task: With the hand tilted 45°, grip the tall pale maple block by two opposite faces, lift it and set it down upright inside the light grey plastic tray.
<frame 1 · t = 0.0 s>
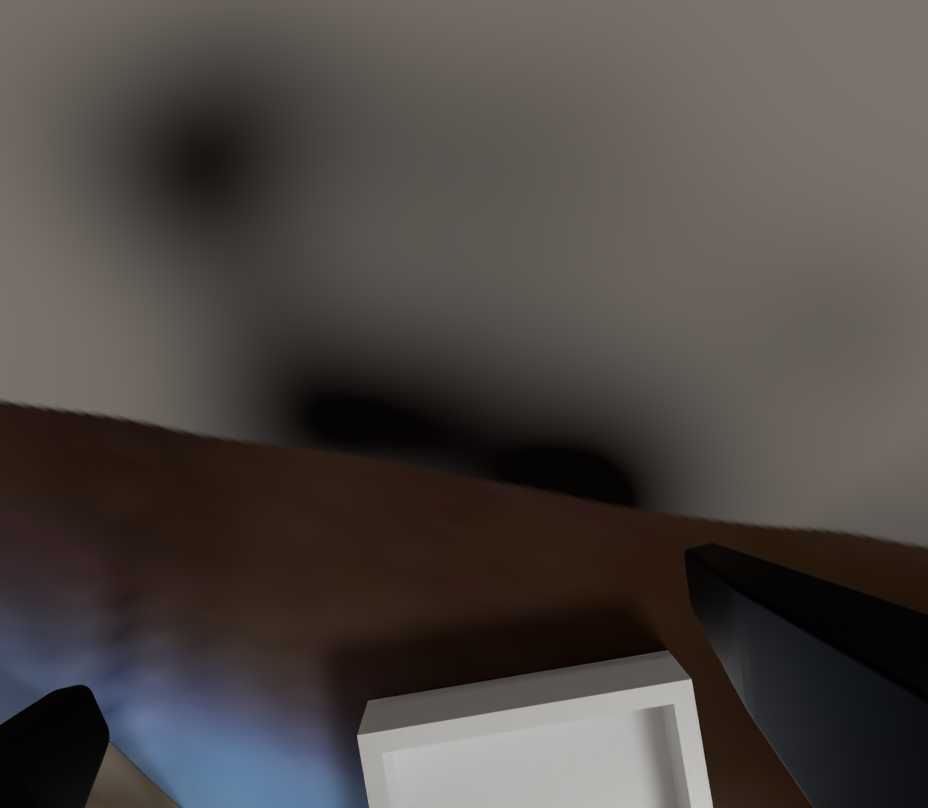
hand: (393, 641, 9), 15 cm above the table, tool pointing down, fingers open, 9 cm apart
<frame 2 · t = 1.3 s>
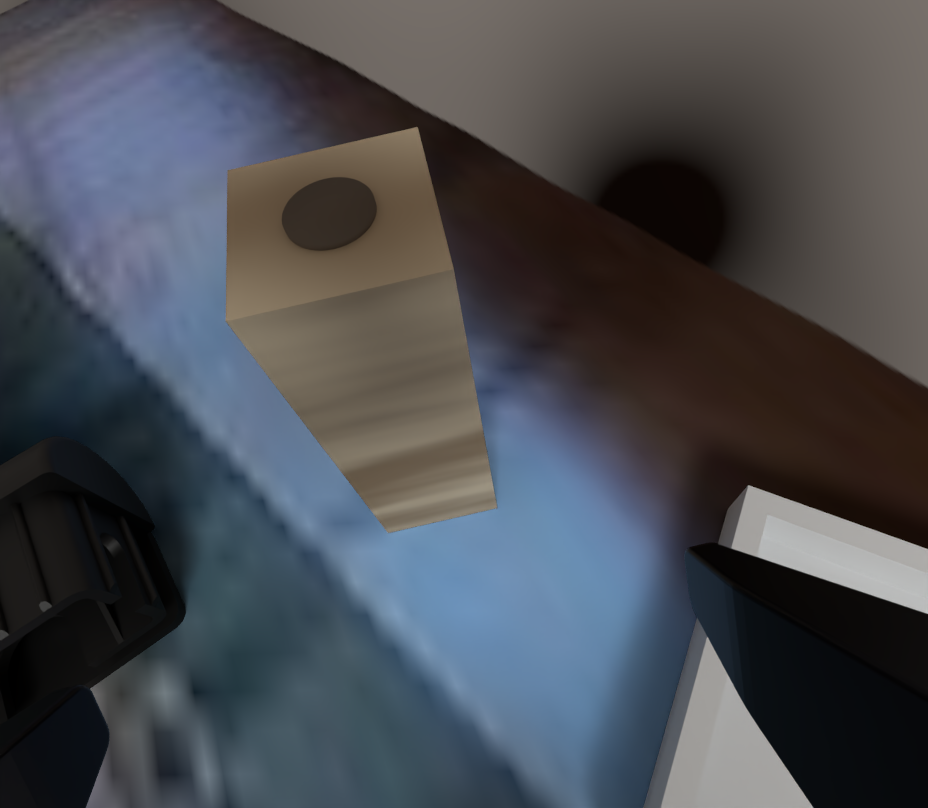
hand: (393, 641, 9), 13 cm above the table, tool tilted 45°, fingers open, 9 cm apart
tray: (887, 767, 18), on the table
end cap: (60, 616, 23), on the table
maple block: (433, 470, 24), on the table
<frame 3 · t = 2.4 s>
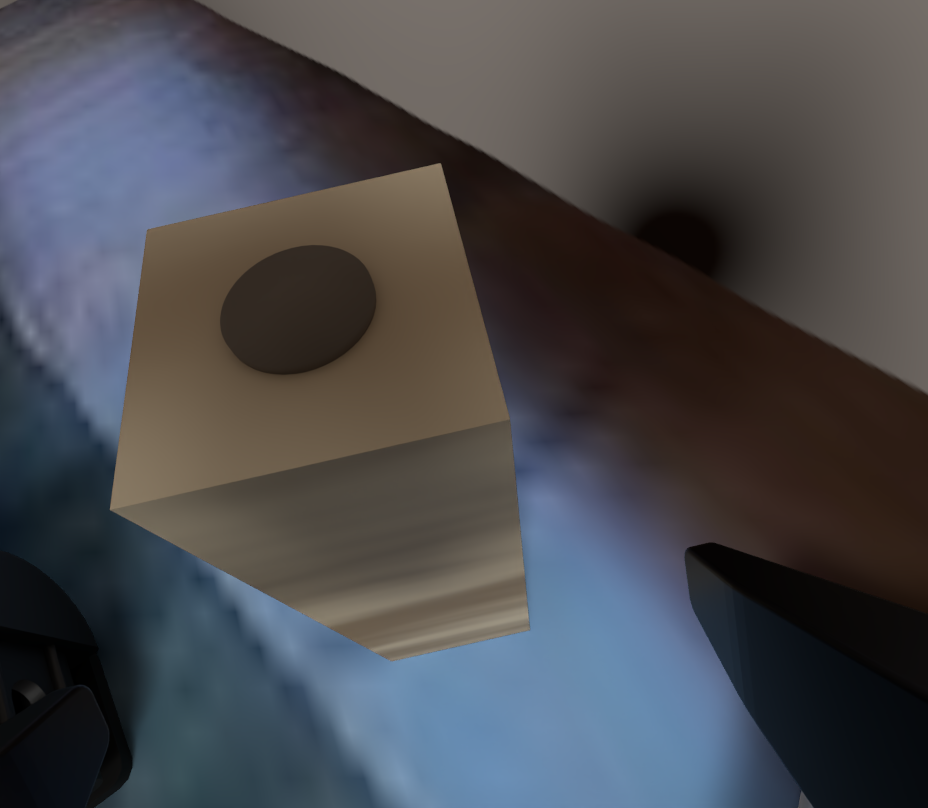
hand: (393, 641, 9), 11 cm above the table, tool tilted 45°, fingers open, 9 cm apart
maple block: (448, 575, 20), on the table
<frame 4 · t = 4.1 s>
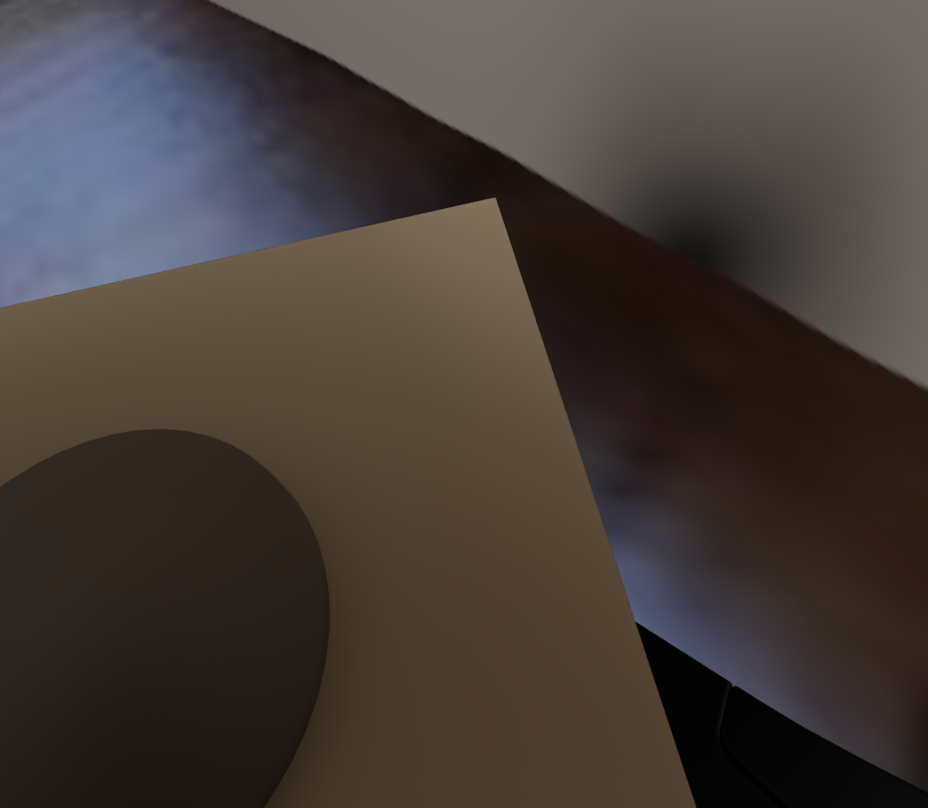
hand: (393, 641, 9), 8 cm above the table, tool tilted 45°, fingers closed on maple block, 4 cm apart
maple block: (461, 720, 15), on the table, touching gripper
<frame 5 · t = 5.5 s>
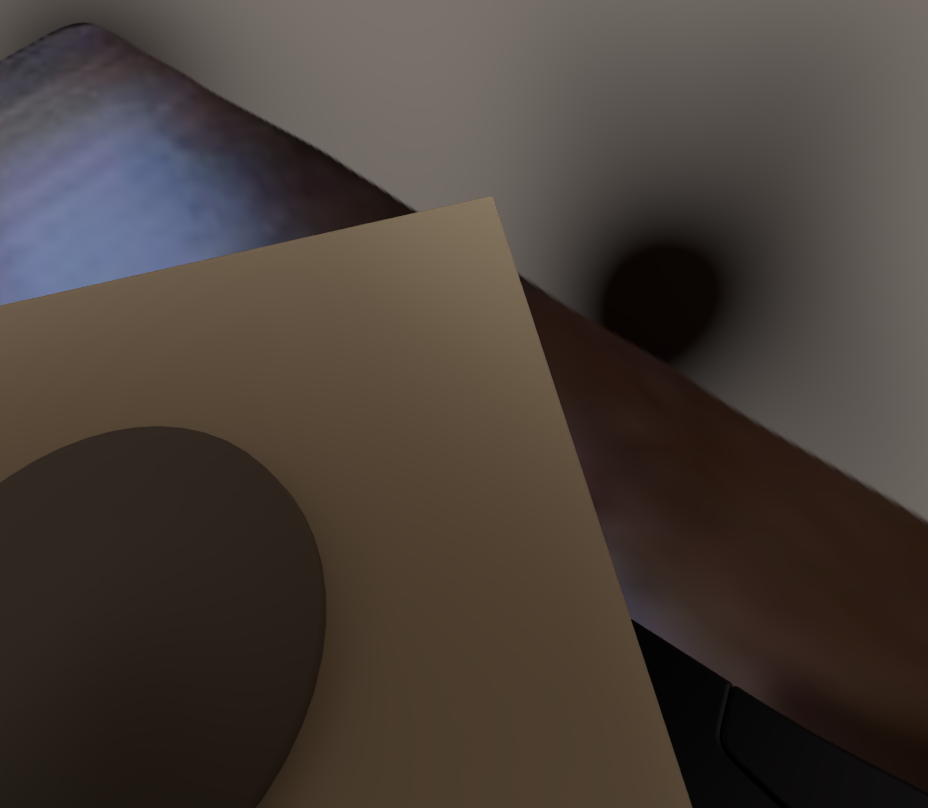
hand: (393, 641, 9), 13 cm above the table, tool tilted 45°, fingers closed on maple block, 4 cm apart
maple block: (461, 720, 15), point 6 cm above the table, touching gripper
when the fingers open (9 cm above the table, at t = 8.3 s): maple block drops 1 cm, resting on tray.
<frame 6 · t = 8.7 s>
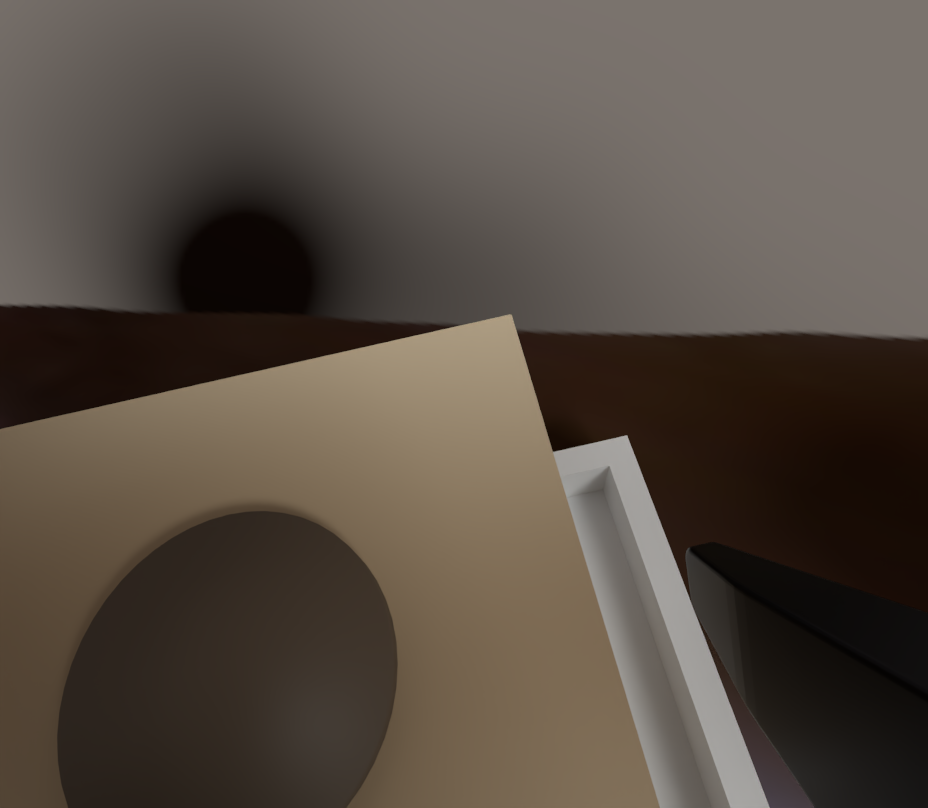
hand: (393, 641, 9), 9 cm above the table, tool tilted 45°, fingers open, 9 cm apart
tray: (470, 721, 16), on the table
maple block: (470, 721, 16), point 1 cm above the table, touching tray
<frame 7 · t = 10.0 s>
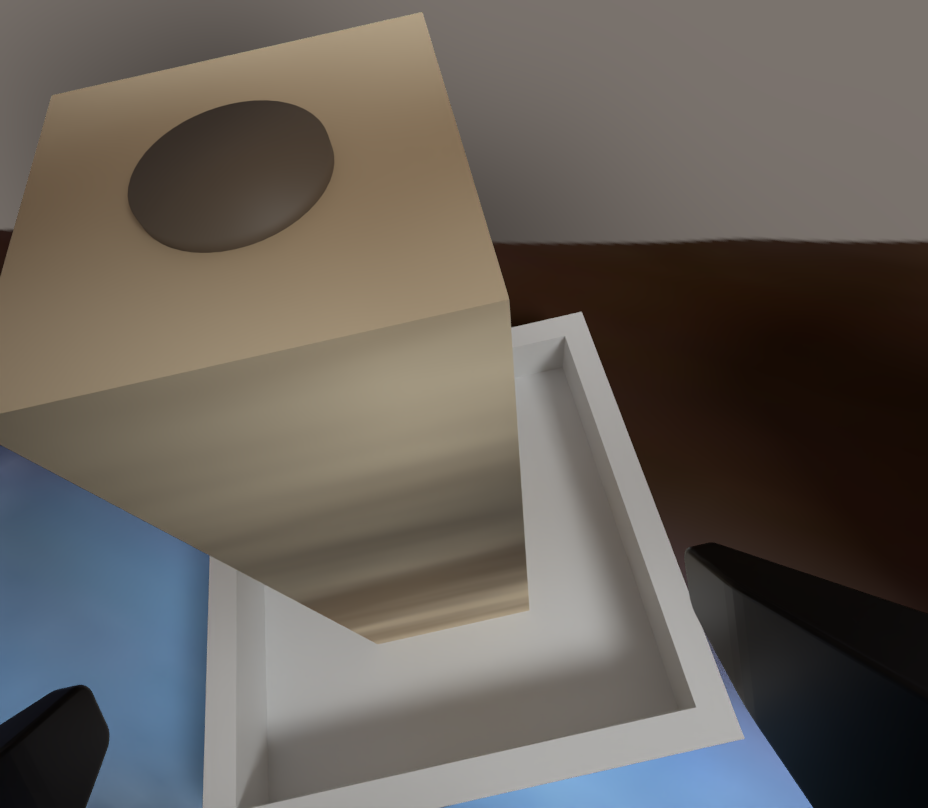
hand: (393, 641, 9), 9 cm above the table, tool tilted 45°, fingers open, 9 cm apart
tray: (441, 556, 18), on the table
maple block: (440, 551, 18), point 1 cm above the table, touching tray
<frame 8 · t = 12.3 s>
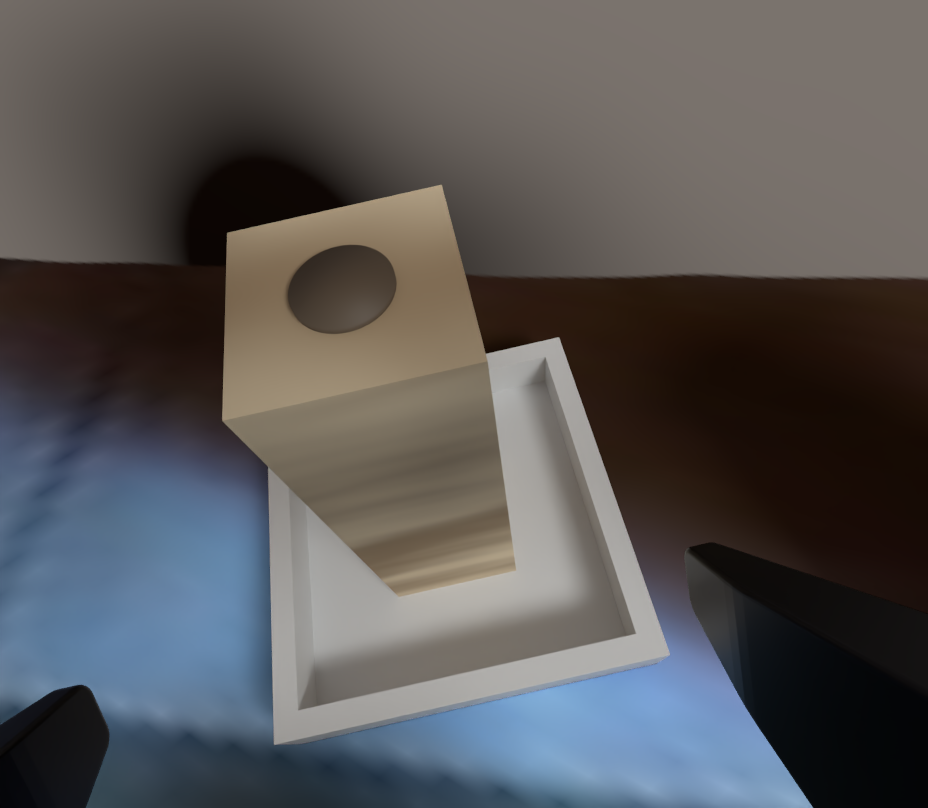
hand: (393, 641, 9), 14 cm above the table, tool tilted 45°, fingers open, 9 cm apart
tray: (447, 531, 23), on the table
maple block: (446, 526, 23), point 1 cm above the table, touching tray
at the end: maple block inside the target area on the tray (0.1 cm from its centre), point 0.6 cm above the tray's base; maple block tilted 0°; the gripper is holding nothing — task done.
